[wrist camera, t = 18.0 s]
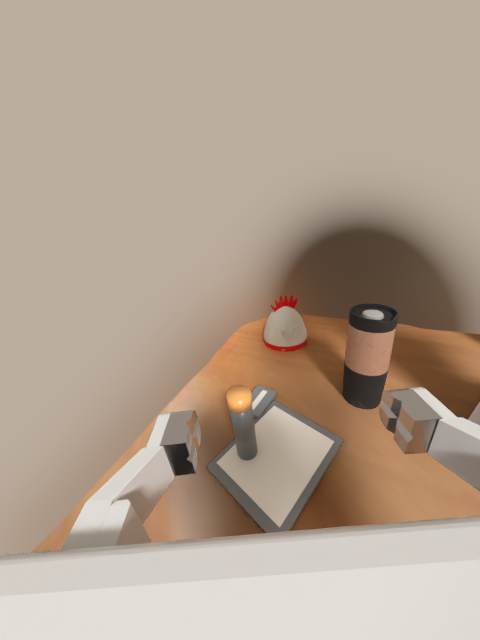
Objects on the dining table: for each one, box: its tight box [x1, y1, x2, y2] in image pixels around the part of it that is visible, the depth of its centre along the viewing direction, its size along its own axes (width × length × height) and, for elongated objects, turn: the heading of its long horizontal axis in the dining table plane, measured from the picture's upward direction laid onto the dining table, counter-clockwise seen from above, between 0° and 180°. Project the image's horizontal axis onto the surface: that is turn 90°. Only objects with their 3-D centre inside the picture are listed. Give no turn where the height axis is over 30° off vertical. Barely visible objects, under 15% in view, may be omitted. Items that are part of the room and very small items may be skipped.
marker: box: [226, 385, 258, 461], centre depth 37 cm, size 4×4×13 cm
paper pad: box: [206, 400, 344, 533], centre depth 39 cm, size 19×15×1 cm
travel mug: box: [343, 303, 398, 409], centre depth 44 cm, size 8×8×20 cm
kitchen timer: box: [263, 295, 307, 351], centre depth 70 cm, size 14×14×15 cm
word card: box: [251, 385, 277, 419], centre depth 50 cm, size 8×5×1 cm, turn 145°
